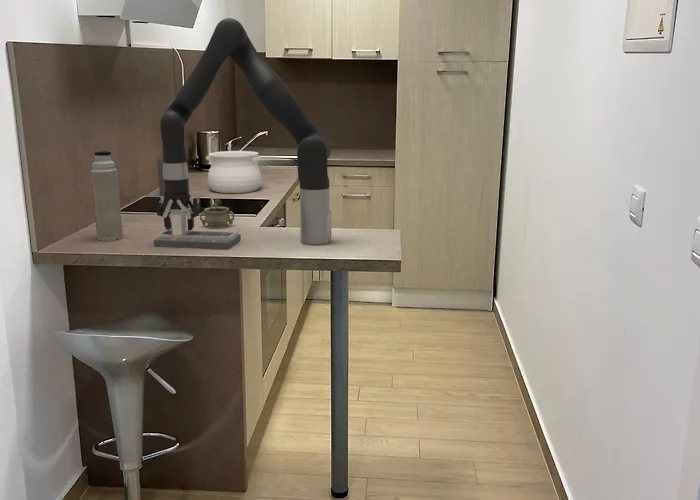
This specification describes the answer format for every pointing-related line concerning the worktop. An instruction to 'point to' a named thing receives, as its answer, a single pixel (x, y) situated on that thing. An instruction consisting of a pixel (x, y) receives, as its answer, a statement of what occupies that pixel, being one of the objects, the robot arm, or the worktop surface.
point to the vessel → (217, 217)
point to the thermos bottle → (106, 197)
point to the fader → (179, 223)
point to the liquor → (161, 174)
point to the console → (198, 239)
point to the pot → (234, 171)
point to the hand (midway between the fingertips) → (179, 229)
